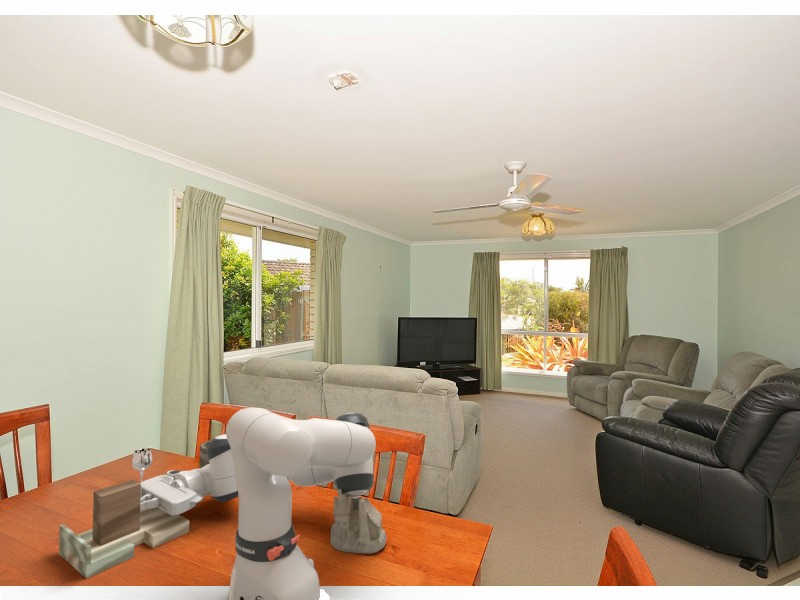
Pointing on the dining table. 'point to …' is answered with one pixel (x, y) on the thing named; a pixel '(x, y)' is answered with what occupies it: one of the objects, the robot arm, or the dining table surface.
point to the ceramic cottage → (356, 525)
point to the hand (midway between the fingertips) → (135, 506)
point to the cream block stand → (119, 542)
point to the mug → (203, 454)
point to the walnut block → (116, 512)
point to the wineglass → (142, 460)
